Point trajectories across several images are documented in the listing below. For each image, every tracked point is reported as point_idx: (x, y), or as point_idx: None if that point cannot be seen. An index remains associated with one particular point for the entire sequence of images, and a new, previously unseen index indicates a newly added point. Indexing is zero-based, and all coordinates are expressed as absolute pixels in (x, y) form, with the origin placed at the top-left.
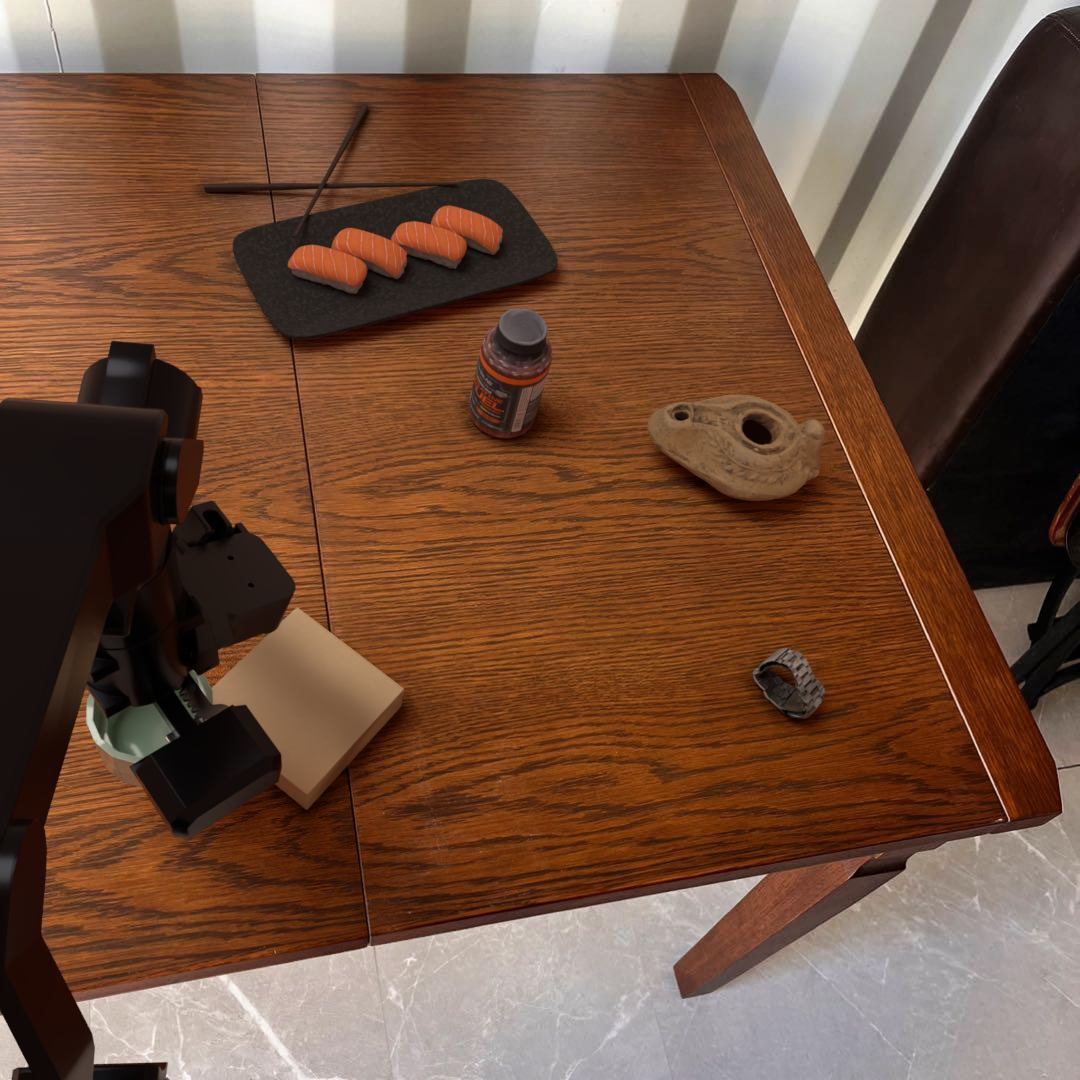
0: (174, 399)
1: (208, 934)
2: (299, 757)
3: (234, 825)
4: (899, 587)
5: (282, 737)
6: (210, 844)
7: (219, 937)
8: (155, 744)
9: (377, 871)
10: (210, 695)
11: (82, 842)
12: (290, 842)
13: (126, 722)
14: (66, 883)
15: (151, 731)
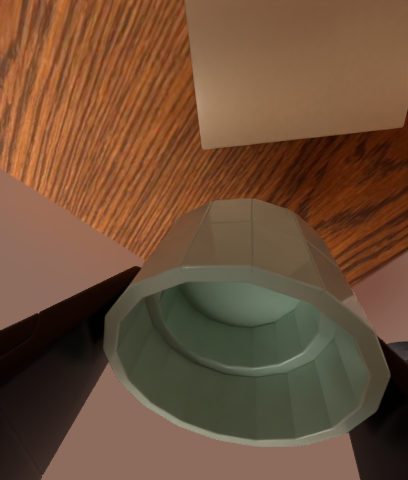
0: None
1: (358, 263)
2: (360, 95)
3: (315, 190)
4: None
5: (319, 93)
6: (308, 215)
7: (368, 259)
8: (248, 291)
9: None
10: (332, 304)
11: None
12: (378, 164)
13: (195, 291)
14: None
15: (229, 284)
